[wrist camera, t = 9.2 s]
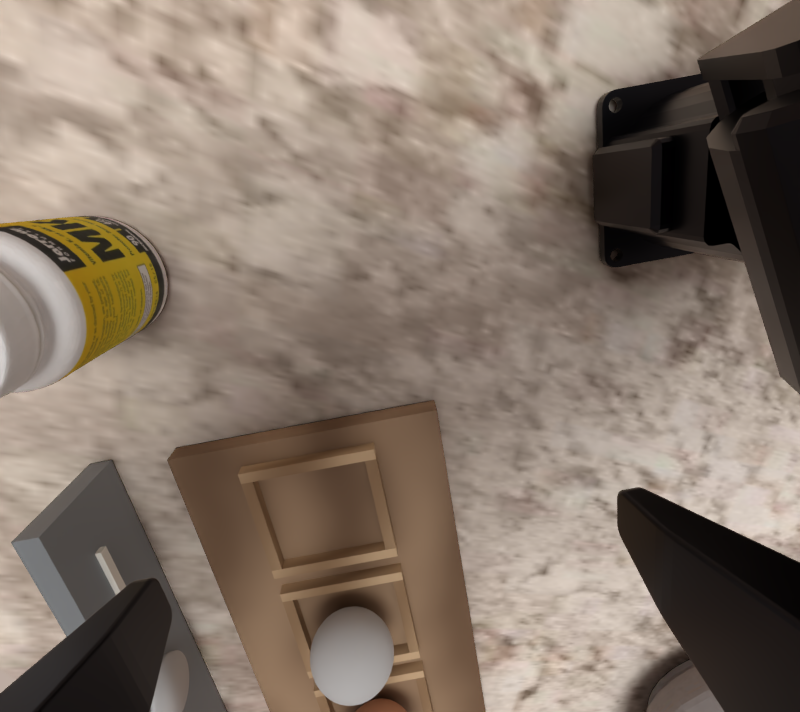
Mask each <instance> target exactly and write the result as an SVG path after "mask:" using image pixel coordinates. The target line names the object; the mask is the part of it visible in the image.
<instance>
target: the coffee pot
mask: <svg viewBox="0 0 800 712" xmlns="http://www.w3.org/2000/svg"><path fill="white" fill-rule="evenodd" d="M646 712H724V711H723V709H722V708H721V706H720V705H719V703H718V701H717V700H716V698H715V697H714V695H713V694H712V692H711V691H710V689H709V688H708V686H707V685H706V683H705V681H704V680H703V678H702V677H701V675H700V674H699V672H698V671H697V669H696V668H695V666H694V665H693V663H692V661H691V660H688V661H686V662H684V663H682V664H681V665H679V666H677V667H676V668H674V669H672V670H671V671H670V672H668V673H667V674H666V675H665V676H664V677H663V678H662V679H661V680H660V681H659V682H658V683H657V685H656V686H655V688H654V689H653V690H652V692H651V695H650V698H649V700H648V708H647V711H646Z"/></svg>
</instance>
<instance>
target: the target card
mask: <svg viewBox="0 0 800 712" xmlns="http://www.w3.org/2000/svg"><path fill="white" fill-rule="evenodd" d="M11 543H12V545H13V547H14V548H15V550H16V552H17V553H18V555H19V557H20V558H21V560H22V562H23V564H24V565H25V567H26V569H27V570H28V572H29V574H30V575H31V577H32V579H33V580H34V582H35V584H36V586H37V587H38V589H39V591H40V592H41V594H42V596H43V597H44V599H45V601H46V602H47V604H48V606H49V607H50V609H51V611H52V613H53V614H54V616H55V618H56V619H57V621H58V623H59V624H60V626H61V628H62V629H63V631H64V633H65V635H66V636H68V635H70V634H71V633H72V632H73V631H74V630H75V629H77V628H78V627H79V626H80V625H81V624H83V623H84V622H85V621H86V620H87V619H88V618H90V617H91V616H92V615H93V614H94V613H95V612H97V611H98V610H99V609H100V608H101V607H103V606H104V605H105V604H106V603H107V602H108V601H110V600H111V599H112V598H113V597H114V596H115V595H117V594H118V593H119V592H120V591H121V590H123V589H124V588H125V587H126V586H127V585H128V584H130V583H131V582H133V581H136V580H140V579H146V578H156V579H157V580H158V581H159V583H160V585H161V587H162V589H163V591H164V593H165V595H166V597H167V600H168V602H169V604H170V606H171V609H172V622H171V627H170V631H169V635H168V639H167V643H166V647H165V652H164V656H163V660H162V664H161V668H160V672H159V677H158V681H157V685H156V689H155V693H154V697H153V701H152V705H151V708H150V711H149V712H227V711H226V708H225V706H224V704H223V702H222V700H221V698H220V695H219V693H218V691H217V689H216V687H215V684H214V682H213V680H212V678H211V676H210V674H209V671H208V669H207V667H206V665H205V663H204V660H203V658H202V656H201V654H200V652H199V650H198V647H197V645H196V643H195V641H194V639H193V636H192V634H191V632H190V630H189V628H188V626H187V623H186V621H185V619H184V617H183V615H182V612H181V610H180V608H179V606H178V604H177V602H176V599H175V597H174V595H173V593H172V591H171V588H170V586H169V584H168V582H167V580H166V577H165V575H164V573H163V571H162V569H161V567H160V564H159V562H158V560H157V558H156V556H155V553H154V551H153V549H152V547H151V545H150V543H149V540H148V538H147V536H146V534H145V532H144V529H143V527H142V525H141V523H140V521H139V519H138V516H137V514H136V512H135V510H134V508H133V505H132V503H131V501H130V499H129V497H128V495H127V492H126V490H125V488H124V486H123V484H122V481H121V479H120V477H119V475H118V473H117V471H116V468H115V466H114V464H113V462H112V460H108V461H103V462H98V463H92V464H89V465H88V466H87V467H86V468H85V469H84V470H83V471H82V472H81V473H80V474H79V475H78V476H77V477H76V478H75V479H74V480H73V481H72V482H71V483H70V484H69V485H68V486H67V487H66V488H65V489H64V490H63V491H62V492H61V493H60V494H59V495H58V496H57V497H56V498H55V499H54V500H53V501H52V502H51V503H50V504H49V505H48V506H47V507H46V508H45V509H44V510H43V511H42V512H41V513H40V514H39V515H38V516H37V517H36V518H35V519H34V520H33V521H32V522H31V523H30V524H29V525H28V526H27V527H26V528H25V529H24V530H23V531H22V532H21V533H20V534H19V535H18V536H17V537H16V538H15V539H14V540H13V541H12V542H11Z"/></svg>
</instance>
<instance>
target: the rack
mask: <svg viewBox="0 0 800 712" xmlns="http://www.w3.org/2000/svg"><path fill="white" fill-rule="evenodd" d="M167 461H168V463H169V466H170V468H171V470H172V473H173V475H174V478H175V480H176V483H177V485H178V488H179V490H180V492H181V495H182V497H183V500H184V502H185V505H186V507H187V510H188V512H189V515H190V517H191V519H192V522H193V524H194V527H195V529H196V532H197V534H198V537H199V539H200V541H201V544H202V546H203V549H204V551H205V554H206V556H207V559H208V561H209V563H210V566H211V568H212V571H213V573H214V576H215V578H216V581H217V583H218V585H219V588H220V590H221V593H222V595H223V598H224V600H225V603H226V605H227V607H228V610H229V612H230V615H231V617H232V620H233V622H234V625H235V627H236V630H237V632H238V634H239V637H240V639H241V642H242V644H243V647H244V649H245V652H246V654H247V656H248V659H249V661H250V664H251V666H252V669H253V671H254V674H255V676H256V678H257V681H258V683H259V686H260V688H261V691H262V693H263V696H264V698H265V700H266V703H267V705H268V708H269V710H270V712H356V711H357V710H358V709H359V708H360V707H361V706H362V705H364V704H365V703H367V702H368V701H367V702H365V703H363V704H359V705H354V706H345V705H340V704H337V703H335V702H333V701H331V700H330V699H328V698H327V697H326V696H325V695H324V694H323V693H322V692H321V691H320V690H319V688H318V687H317V685H316V683H315V681H314V678H313V676H312V672H311V667H310V651H311V646H312V642H313V639H314V636H315V634H316V632H317V630H318V628H319V627H320V625H321V624H322V623H323V621H324V620H325V619H326V618H327V617H328V616H330V615H331V614H332V613H334V612H336V611H337V610H339V609H342V608H345V607H352V606H357V607H363V608H366V609H369V610H371V611H373V612H374V613H376V614H377V615H378V616H379V617H380V618H381V619H382V620H383V621H384V623H385V624H386V626H387V627H388V629H389V631H390V634H391V637H392V640H393V646H394V661H393V666H392V670H391V673H390V676H389V678H388V680H387V682H386V684H385V685H384V687H383V688H382V689H381V691H380V692H379V693H378V694H377V695H376V696H375V697H373V698H372V699H370V700H369V701H371V700H374V699H380V698H384V699H390V700H392V701H395V702H397V703H398V704H400V705H401V706H402V707H403V708H404V709H405V710H406V711H407V712H485V705H484V699H483V693H482V687H481V681H480V674H479V668H478V662H477V656H476V650H475V643H474V637H473V631H472V625H471V619H470V612H469V606H468V600H467V594H466V588H465V581H464V575H463V569H462V563H461V557H460V550H459V544H458V538H457V532H456V525H455V519H454V513H453V507H452V501H451V494H450V488H449V482H448V476H447V470H446V463H445V457H444V451H443V445H442V439H441V432H440V426H439V420H438V414H437V409H436V406H435V402H434V400H433V401H427V402H422V403H417V404H411V405H406V406H400V407H395V408H390V409H384V410H379V411H373V412H368V413H363V414H357V415H352V416H346V417H341V418H336V419H330V420H325V421H319V422H314V423H308V424H303V425H298V426H292V427H287V428H281V429H276V430H271V431H265V432H260V433H254V434H249V435H244V436H238V437H233V438H227V439H222V440H217V441H211V442H206V443H200V444H195V445H190V446H184V447H179V448H176V449H175V450H174V452H173V453H172V454H171V456H170V457H169V458H168V460H167Z"/></svg>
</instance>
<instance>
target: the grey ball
mask: <svg viewBox="0 0 800 712" xmlns="http://www.w3.org/2000/svg"><path fill="white" fill-rule="evenodd" d="M393 661H394V646H393V640H392V637H391V634H390V631H389V629H388V627H387V626H386V624H385V623H384V621H383V620H382V619H381V618H380V617H379V616H378V615H377V614H376V613H374V612H373V611H371V610H369V609H366V608H363V607H357V606H352V607H345V608H342V609H339V610H337V611H336V612H334V613H332V614H331V615H330V616H328V617H327V618H326V619H325V620H324V621H323V623H322V624H321V625H320V627H319V628H318V630H317V632H316V634H315V636H314V639H313V642H312V646H311V651H310V667H311V672H312V676H313V678H314V681H315V683H316V685H317V687H318V688H319V690H320V691H321V692H322V693H323V694H324V695H325V696H326V697H327V698H328V699H330V700H331V701H333V702H335V703H337V704H340V705H345V706H354V705H359V704H363V703H365V702H367V701H369V700H370V699H372V698H373V697H375V696H376V695H377V694H378V693H379V692H380V691H381V689H382V688H383V687H384V685H385V684H386V682H387V680H388V678H389V676H390V673H391V670H392V666H393Z"/></svg>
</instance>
